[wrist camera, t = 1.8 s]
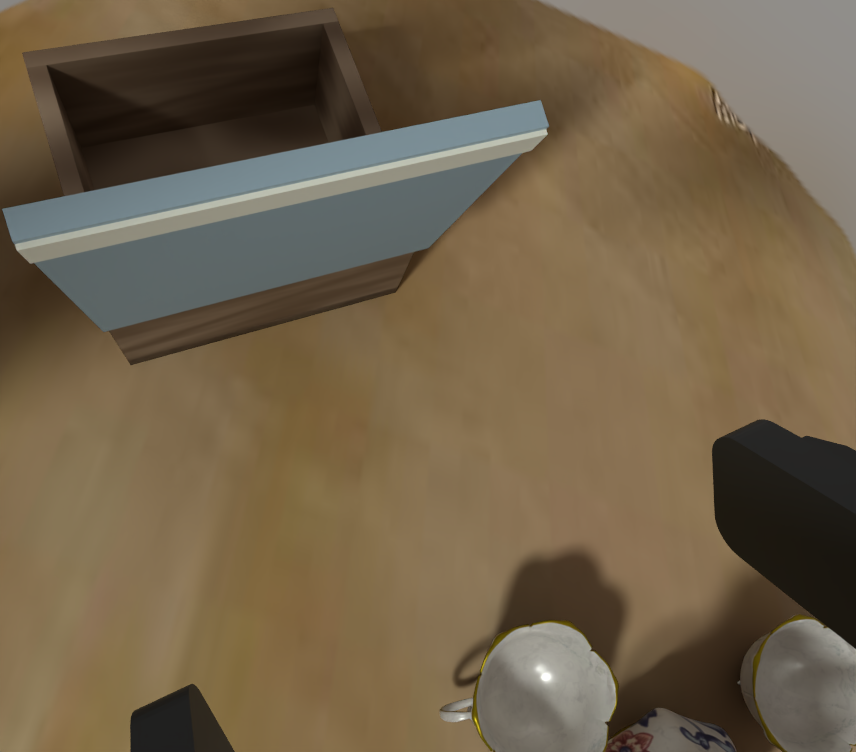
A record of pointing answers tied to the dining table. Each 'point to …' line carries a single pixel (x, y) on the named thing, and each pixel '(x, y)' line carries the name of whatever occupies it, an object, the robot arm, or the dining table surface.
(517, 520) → the dining table surface
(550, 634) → the chinaware
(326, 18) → the box
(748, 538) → the robot arm
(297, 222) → the lid
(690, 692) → the dining table surface
